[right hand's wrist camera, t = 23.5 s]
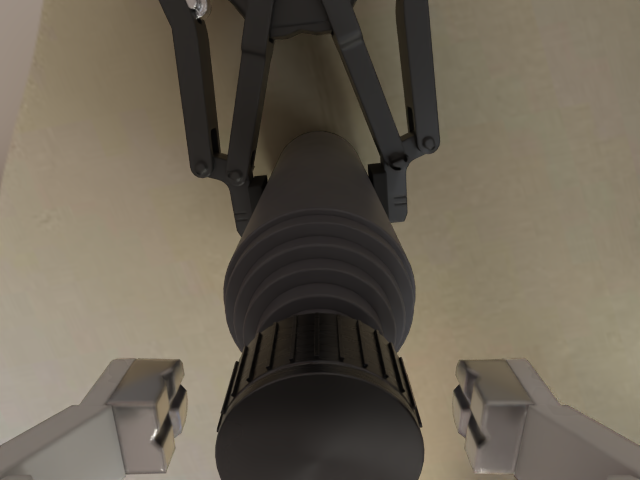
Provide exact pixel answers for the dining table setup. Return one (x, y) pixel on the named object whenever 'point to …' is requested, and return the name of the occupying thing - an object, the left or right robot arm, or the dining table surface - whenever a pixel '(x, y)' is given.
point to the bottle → (319, 247)
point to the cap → (319, 406)
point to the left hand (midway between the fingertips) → (328, 276)
